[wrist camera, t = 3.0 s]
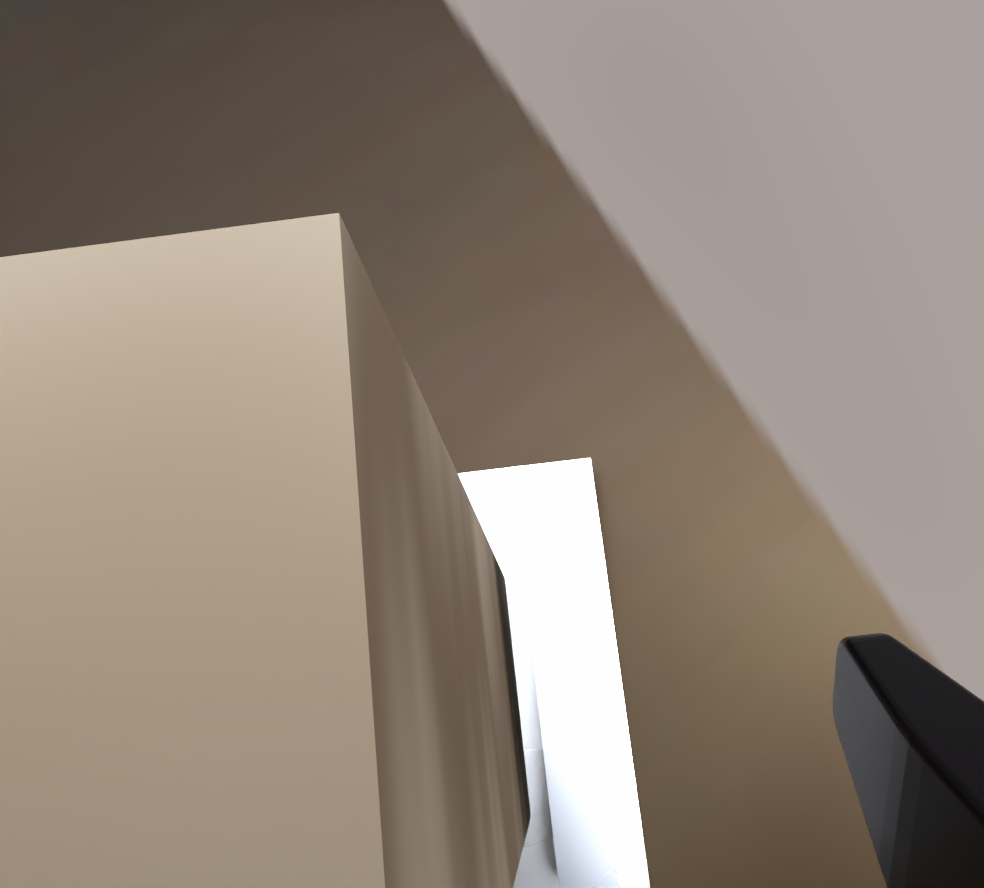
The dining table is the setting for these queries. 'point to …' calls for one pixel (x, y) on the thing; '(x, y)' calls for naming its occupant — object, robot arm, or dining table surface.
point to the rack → (564, 676)
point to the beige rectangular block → (240, 582)
